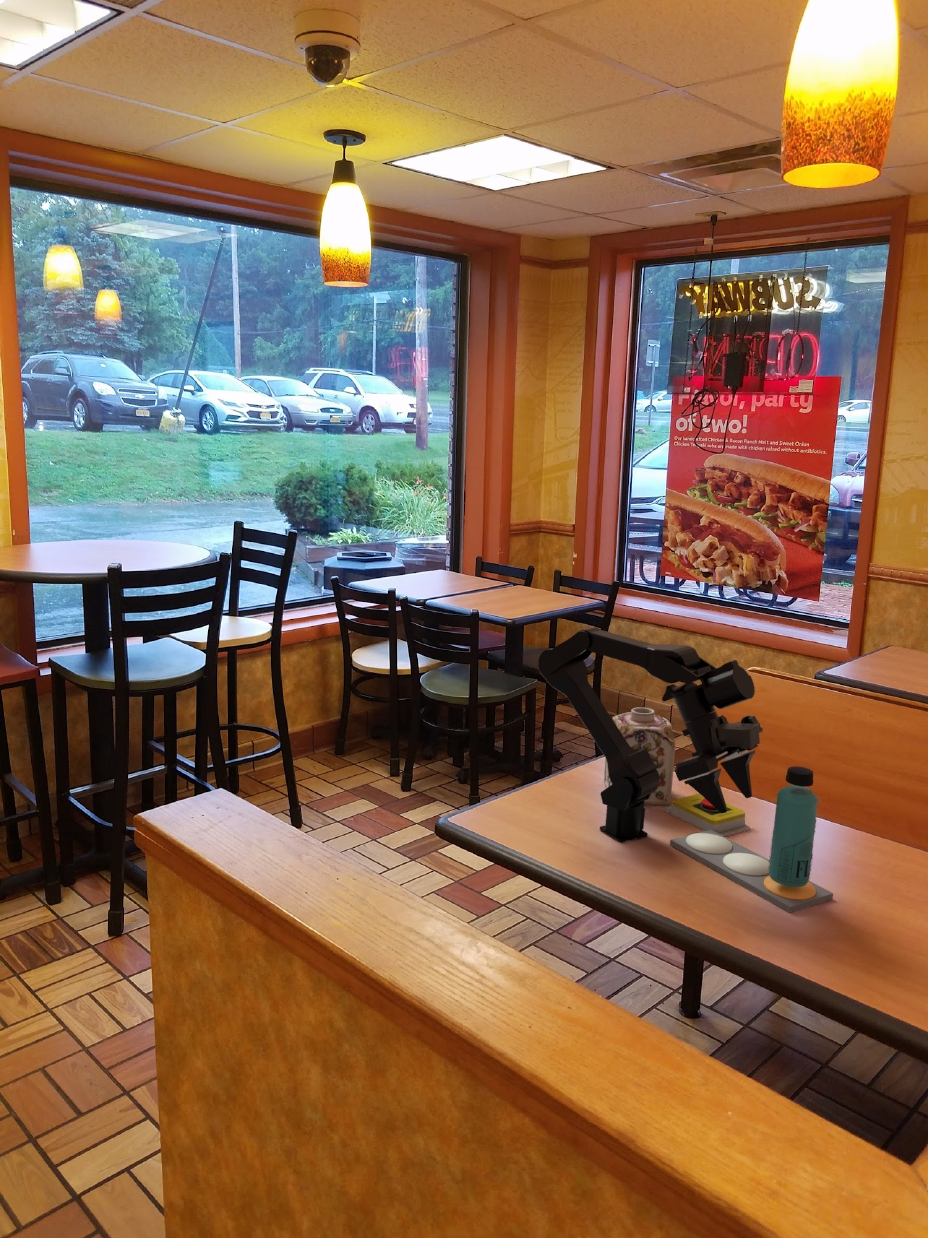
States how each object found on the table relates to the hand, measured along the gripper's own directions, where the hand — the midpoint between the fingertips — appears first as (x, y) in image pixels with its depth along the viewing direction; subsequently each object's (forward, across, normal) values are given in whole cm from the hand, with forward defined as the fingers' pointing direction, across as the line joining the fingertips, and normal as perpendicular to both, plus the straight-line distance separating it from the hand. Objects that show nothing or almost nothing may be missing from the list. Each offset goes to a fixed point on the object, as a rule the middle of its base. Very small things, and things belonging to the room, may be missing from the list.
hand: (737, 805), depth 156 cm
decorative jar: (-5, +19, +32) cm, 37 cm away
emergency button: (+4, +18, +18) cm, 26 cm away
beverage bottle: (+15, -1, -3) cm, 15 cm away
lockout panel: (+11, +2, +5) cm, 12 cm away
